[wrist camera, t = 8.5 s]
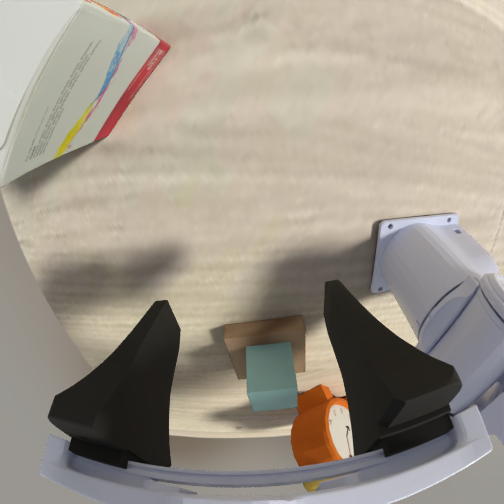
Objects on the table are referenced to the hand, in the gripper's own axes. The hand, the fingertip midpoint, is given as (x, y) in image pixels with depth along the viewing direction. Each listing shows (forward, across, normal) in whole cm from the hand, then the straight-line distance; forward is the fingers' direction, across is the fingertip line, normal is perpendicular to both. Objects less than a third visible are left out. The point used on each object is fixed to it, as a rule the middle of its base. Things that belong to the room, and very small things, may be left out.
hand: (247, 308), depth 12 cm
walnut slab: (+11, 0, +16) cm, 19 cm away
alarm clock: (+11, -8, +33) cm, 36 cm away
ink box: (+11, +9, -14) cm, 20 cm away
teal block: (+8, 0, +16) cm, 18 cm away
